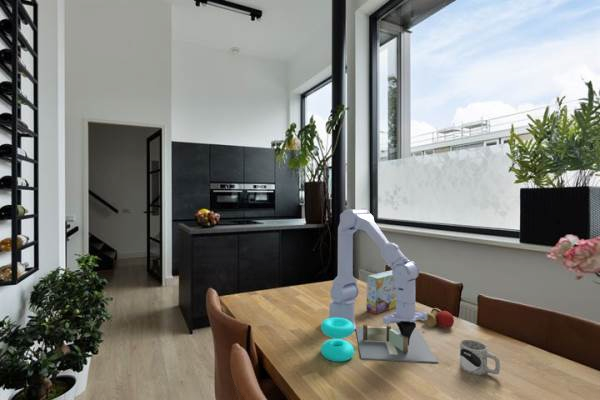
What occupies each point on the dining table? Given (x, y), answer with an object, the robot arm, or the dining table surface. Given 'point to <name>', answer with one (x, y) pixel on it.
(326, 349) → the donuts
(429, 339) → the dining table surface
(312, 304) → the dining table surface
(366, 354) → the card
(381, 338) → the fence fixed
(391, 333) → the fence gate
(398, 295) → the robot arm
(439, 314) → the kendama
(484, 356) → the mug
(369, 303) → the snack box
